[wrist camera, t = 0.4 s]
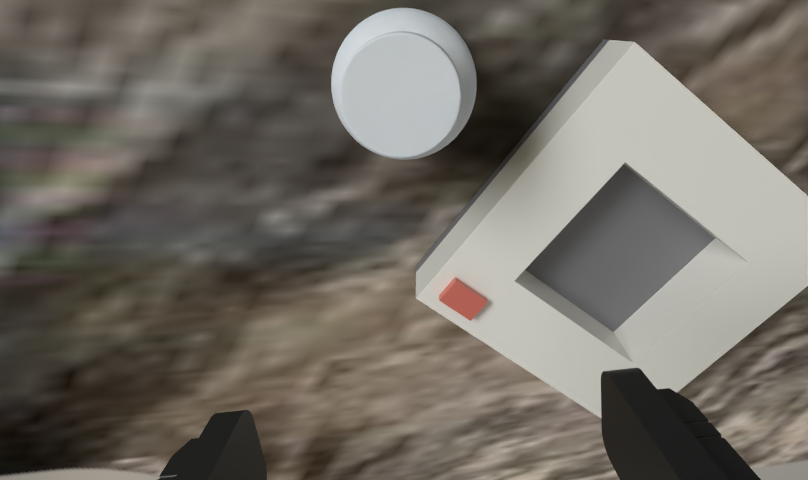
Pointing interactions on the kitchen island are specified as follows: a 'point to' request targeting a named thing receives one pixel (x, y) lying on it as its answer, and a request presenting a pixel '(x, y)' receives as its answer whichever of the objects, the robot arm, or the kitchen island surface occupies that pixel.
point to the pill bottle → (404, 83)
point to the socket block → (621, 236)
